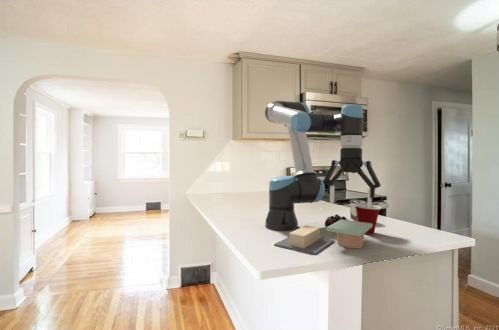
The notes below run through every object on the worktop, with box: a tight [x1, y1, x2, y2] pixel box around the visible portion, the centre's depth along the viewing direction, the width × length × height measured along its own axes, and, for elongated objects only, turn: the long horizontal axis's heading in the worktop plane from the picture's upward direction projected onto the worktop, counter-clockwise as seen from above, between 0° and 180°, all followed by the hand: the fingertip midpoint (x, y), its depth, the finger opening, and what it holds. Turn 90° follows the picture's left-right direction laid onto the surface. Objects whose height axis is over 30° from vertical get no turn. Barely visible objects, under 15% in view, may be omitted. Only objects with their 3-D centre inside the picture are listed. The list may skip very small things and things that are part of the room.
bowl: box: [336, 232, 365, 249], centre depth 103 cm, size 9×9×6 cm
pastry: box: [324, 214, 349, 230], centre depth 129 cm, size 11×12×6 cm
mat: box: [273, 225, 335, 256], centre depth 104 cm, size 16×18×5 cm
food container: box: [349, 199, 367, 222], centre depth 142 cm, size 12×6×10 cm, turn 179°
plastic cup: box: [354, 203, 382, 235], centre depth 119 cm, size 11×11×12 cm
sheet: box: [326, 219, 373, 236], centre depth 103 cm, size 12×16×1 cm
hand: (350, 204), depth 103 cm, fingers open, 13 cm apart
